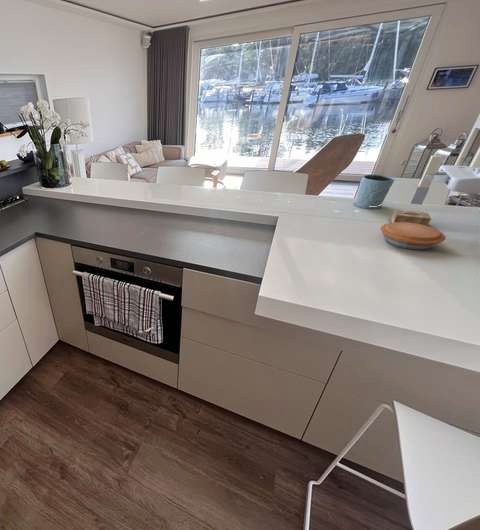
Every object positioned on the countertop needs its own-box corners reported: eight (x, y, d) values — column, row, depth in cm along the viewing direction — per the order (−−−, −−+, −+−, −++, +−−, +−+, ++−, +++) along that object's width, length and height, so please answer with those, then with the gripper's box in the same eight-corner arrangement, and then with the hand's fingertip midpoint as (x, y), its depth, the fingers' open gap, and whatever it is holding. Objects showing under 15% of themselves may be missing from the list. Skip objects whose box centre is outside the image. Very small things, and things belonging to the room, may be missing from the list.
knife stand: (423, 223, 105) (428, 212, 103) (426, 229, 101) (431, 218, 99) (390, 219, 109) (395, 209, 107) (392, 225, 105) (396, 215, 103)
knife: (421, 203, 100) (443, 155, 92) (422, 205, 98) (444, 156, 90) (409, 202, 101) (430, 155, 93) (410, 204, 100) (431, 156, 92)
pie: (369, 231, 103) (374, 218, 100) (424, 233, 98) (431, 220, 95) (387, 250, 91) (393, 236, 88) (451, 255, 86) (460, 240, 83)
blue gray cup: (352, 200, 129) (361, 173, 123) (381, 202, 124) (392, 174, 118) (354, 208, 122) (364, 179, 116) (385, 210, 117) (397, 181, 111)
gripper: (481, 161, 94) (423, 159, 101) (504, 176, 80) (435, 173, 87) (471, 180, 97) (415, 177, 104) (491, 198, 83) (425, 194, 90)
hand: (424, 176), depth 95 cm, fingers closed on knife, 2 cm apart
